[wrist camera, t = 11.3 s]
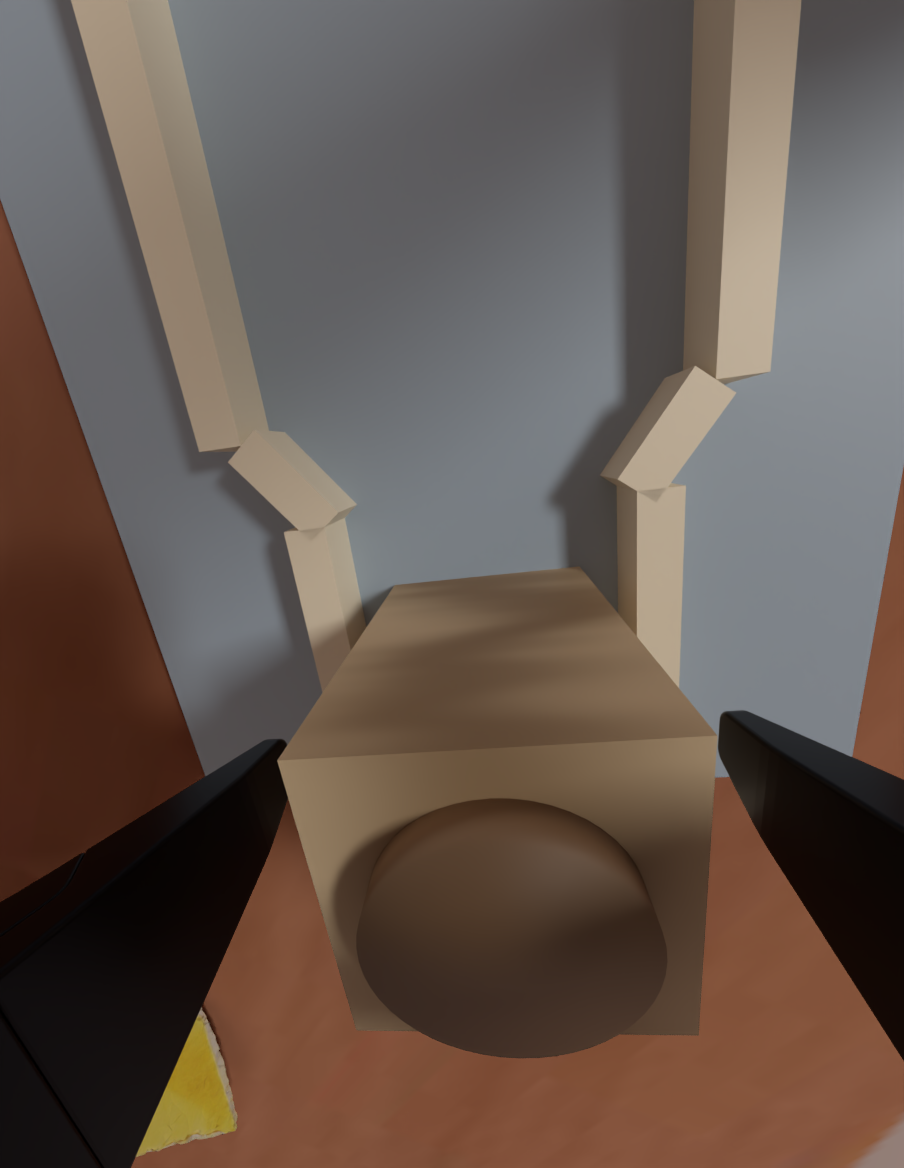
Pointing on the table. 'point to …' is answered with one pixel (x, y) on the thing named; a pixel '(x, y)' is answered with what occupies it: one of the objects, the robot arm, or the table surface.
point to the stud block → (508, 820)
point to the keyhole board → (477, 322)
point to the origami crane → (193, 1095)
